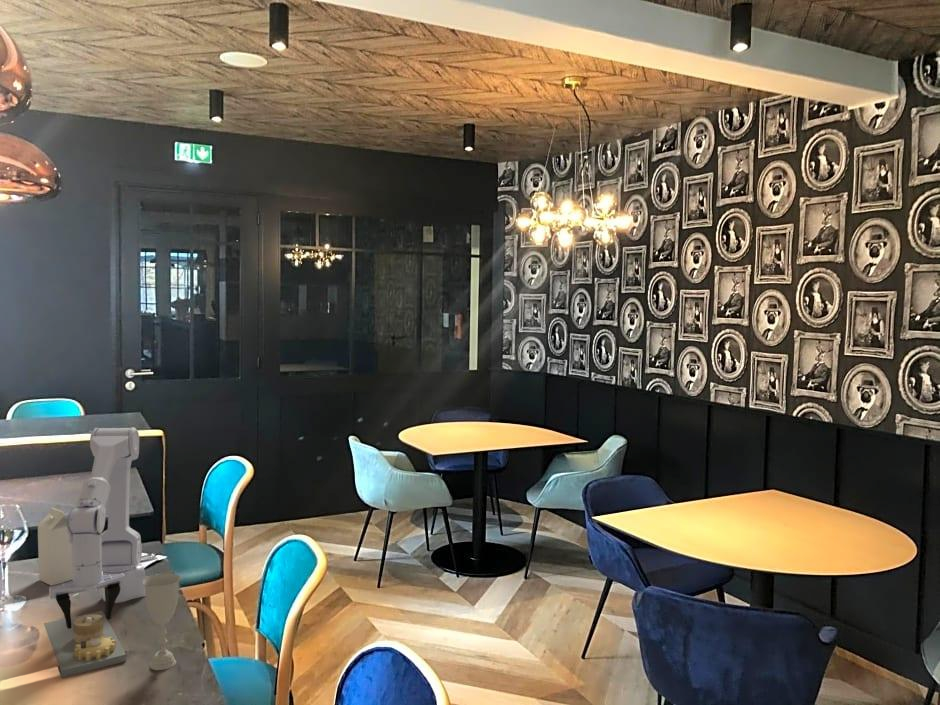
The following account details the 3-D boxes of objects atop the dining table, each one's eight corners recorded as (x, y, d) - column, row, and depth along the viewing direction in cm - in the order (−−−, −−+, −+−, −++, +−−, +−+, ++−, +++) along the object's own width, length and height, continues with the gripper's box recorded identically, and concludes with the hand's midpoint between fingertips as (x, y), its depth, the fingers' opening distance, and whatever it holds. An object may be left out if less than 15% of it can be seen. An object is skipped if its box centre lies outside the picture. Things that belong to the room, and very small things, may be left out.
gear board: (102, 616, 176) (101, 591, 176) (126, 661, 155) (125, 633, 155) (44, 629, 169) (43, 603, 169) (61, 677, 148) (60, 648, 148)
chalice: (145, 675, 150) (143, 588, 148) (142, 660, 156) (141, 577, 154) (183, 667, 153) (182, 582, 152) (180, 653, 159) (178, 571, 158)
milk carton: (66, 572, 203) (64, 504, 202) (79, 578, 199) (77, 509, 198) (38, 580, 198) (36, 510, 196) (51, 586, 194) (49, 515, 192)
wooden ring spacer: (100, 629, 166) (100, 612, 166) (105, 639, 162) (104, 621, 161) (72, 636, 163) (71, 618, 162) (76, 646, 158) (76, 628, 158)
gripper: (51, 574, 153) (53, 638, 155) (127, 560, 162) (128, 620, 163) (47, 564, 159) (48, 625, 160) (120, 551, 168) (121, 609, 169)
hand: (88, 622), depth 162 cm, fingers open, 7 cm apart
